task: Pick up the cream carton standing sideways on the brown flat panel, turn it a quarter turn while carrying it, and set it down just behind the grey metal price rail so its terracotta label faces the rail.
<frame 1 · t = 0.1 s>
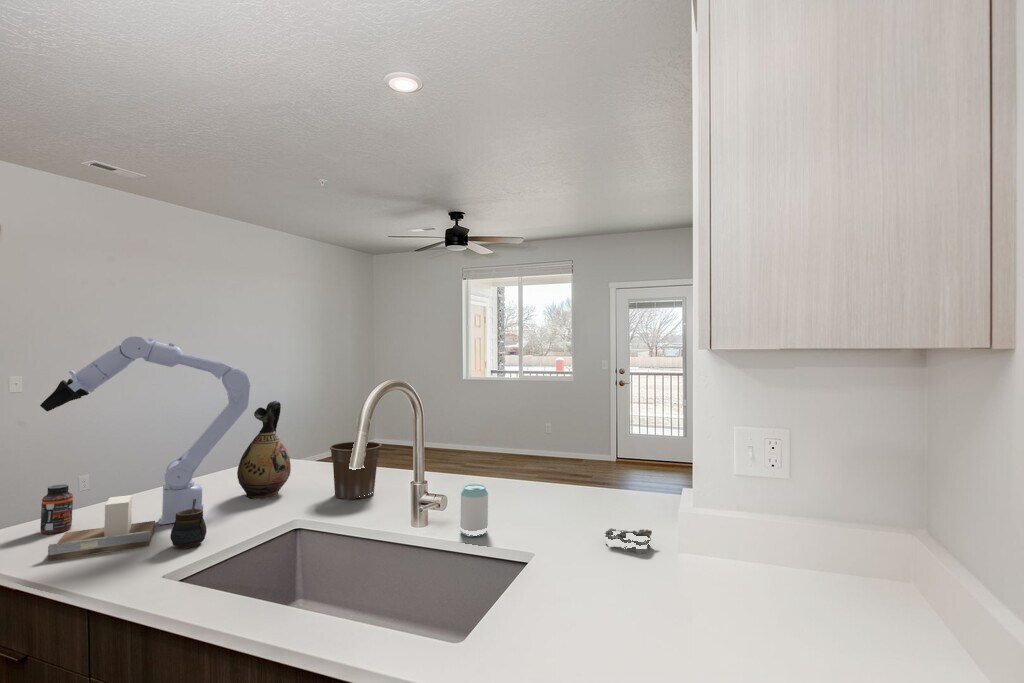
hand: (47, 406, 124), 32 cm above the worktop, tool tilted 50°, fingers open, 7 cm apart
can: (473, 534, 131), on the worktop
supplement bottle: (56, 531, 128), on the worktop
plant pot: (354, 495, 164), on the worktop
price rail: (100, 546, 115), resting on brown flat panel
brown flat panel: (106, 541, 121), on the worktop
egg carton: (627, 548, 123), on the worktop
ceramic jug: (265, 495, 163), on the worktop
mate gourd: (188, 545, 120), on the worktop
carton: (118, 532, 124), point 1 cm above the worktop, touching brown flat panel
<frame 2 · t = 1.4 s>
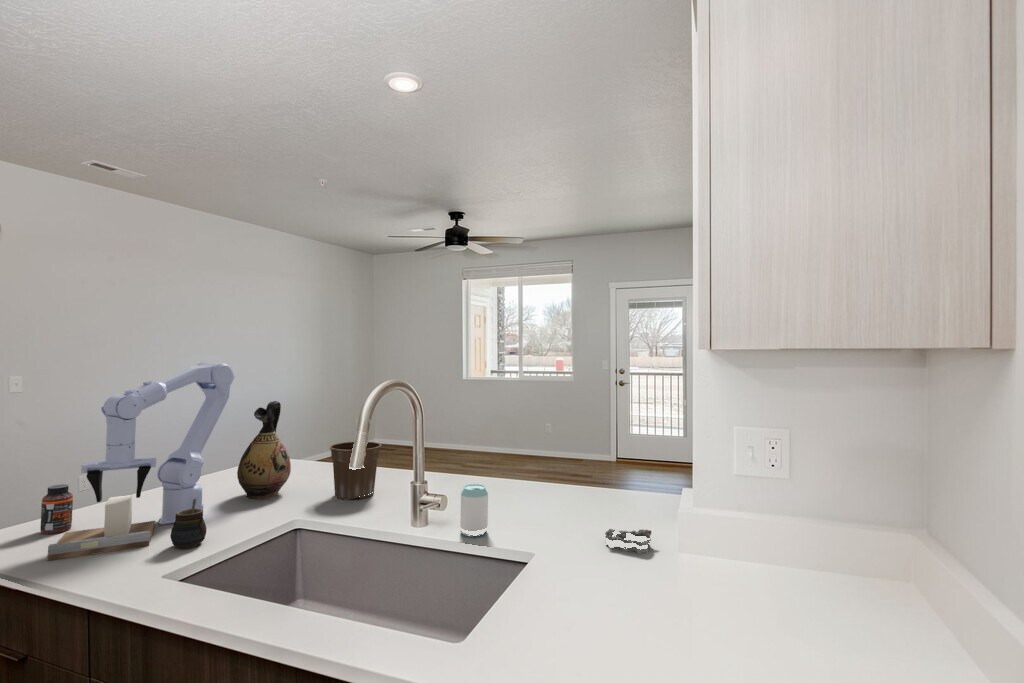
hand: (119, 498, 124), 9 cm above the worktop, tool pointing down, fingers open, 7 cm apart
nothing on the worktop moved.
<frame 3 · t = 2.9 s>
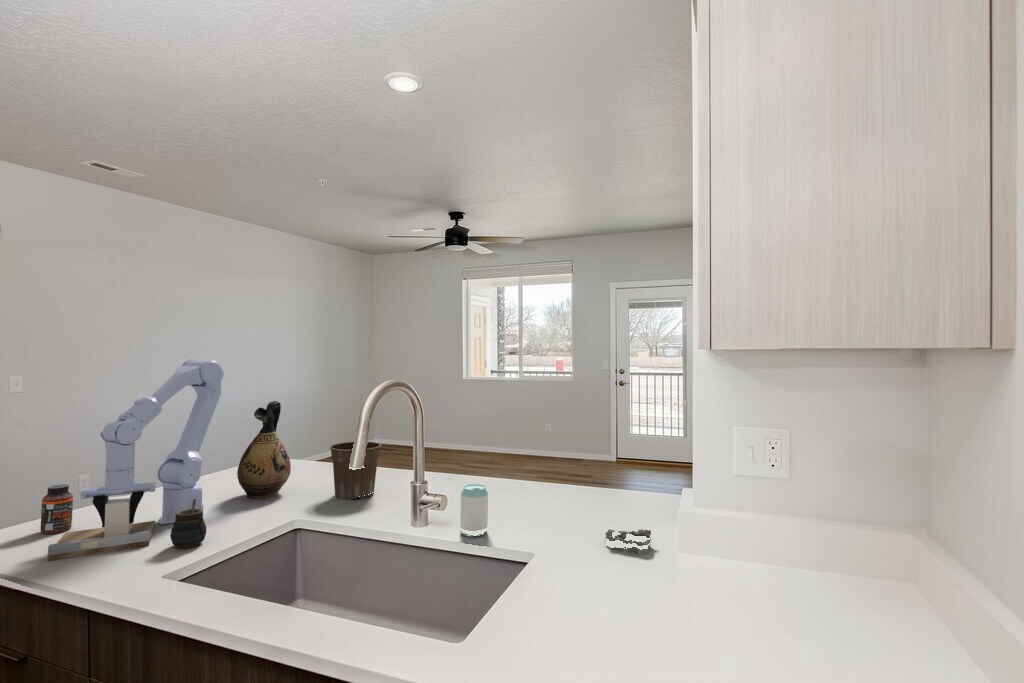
hand: (118, 524, 124), 3 cm above the worktop, tool pointing down, fingers closed on carton, 4 cm apart
carton: (118, 532, 124), point 1 cm above the worktop, touching gripper, brown flat panel
everything else where it was.
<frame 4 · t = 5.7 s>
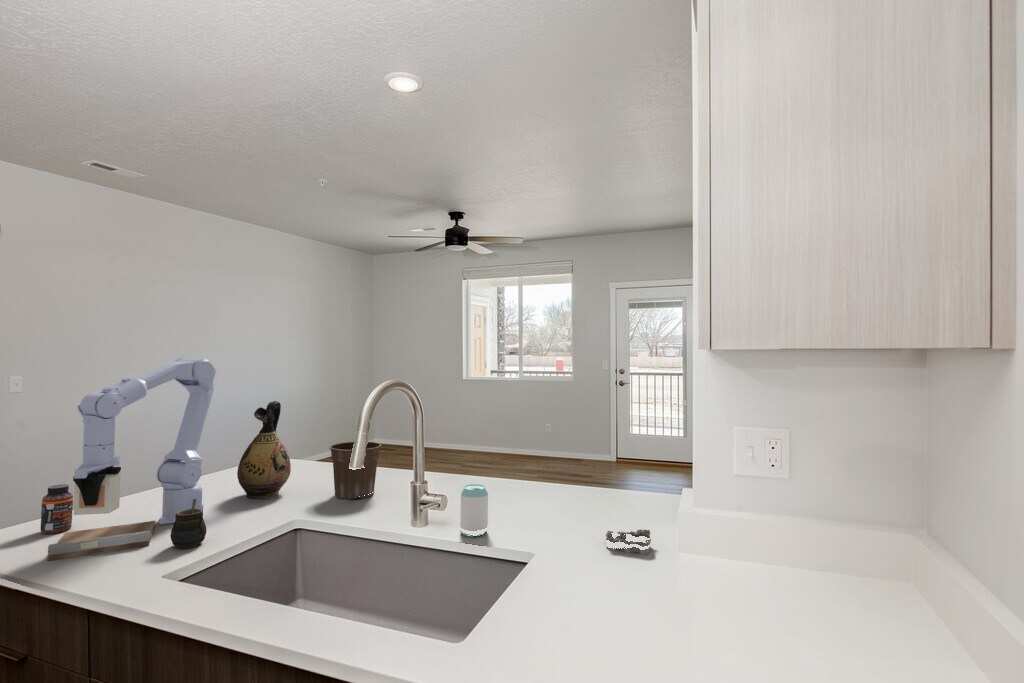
hand: (97, 502, 118), 10 cm above the worktop, tool pointing down, fingers closed on carton, 4 cm apart
carton: (97, 511, 118), point 8 cm above the worktop, touching gripper
everything else where it was.
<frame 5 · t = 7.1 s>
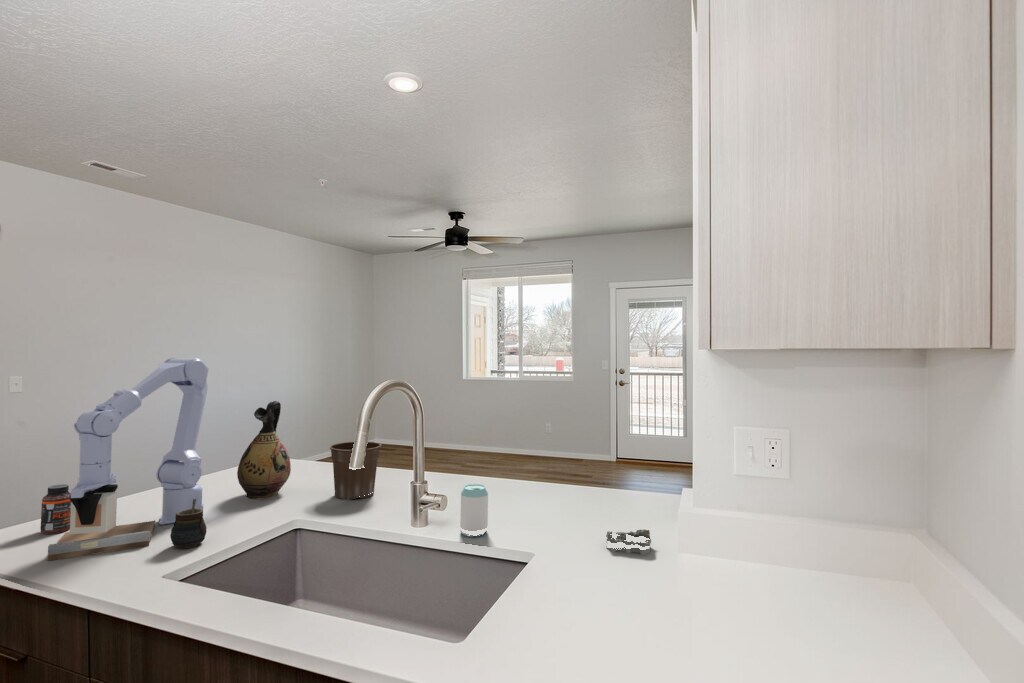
hand: (93, 520, 117), 6 cm above the worktop, tool pointing down, fingers closed on carton, 4 cm apart
carton: (93, 529, 117), point 4 cm above the worktop, touching gripper
when the fingers open (4 cm above the worktop, at t = 8.3 s): carton drops 1 cm, resting on brown flat panel.
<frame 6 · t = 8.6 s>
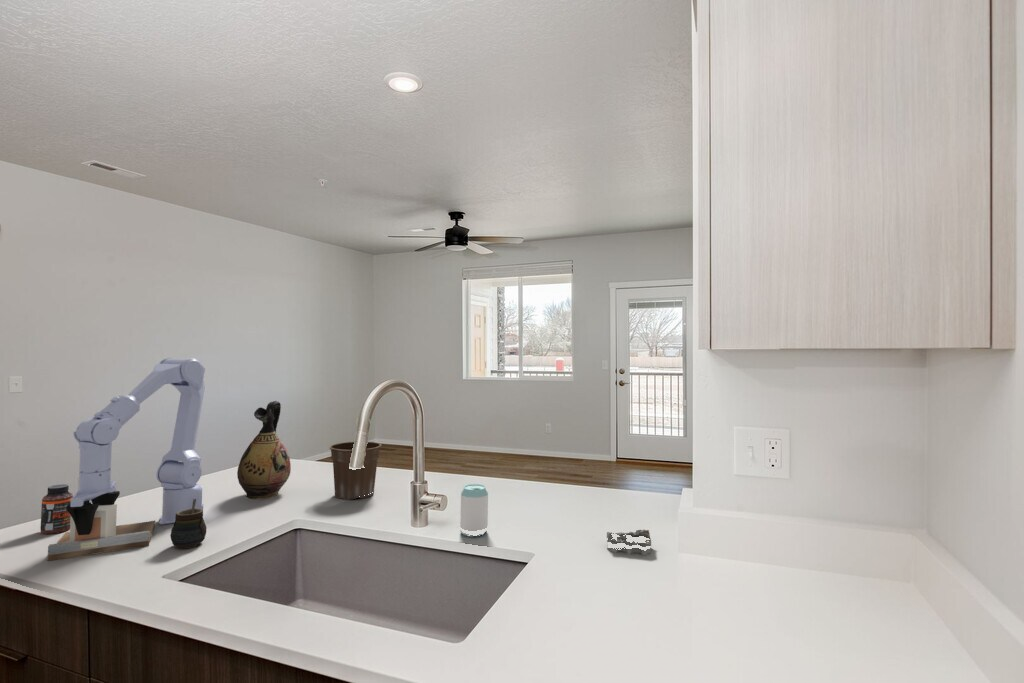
hand: (93, 529, 117), 4 cm above the worktop, tool pointing down, fingers open, 7 cm apart
carton: (93, 542, 117), point 1 cm above the worktop, touching brown flat panel
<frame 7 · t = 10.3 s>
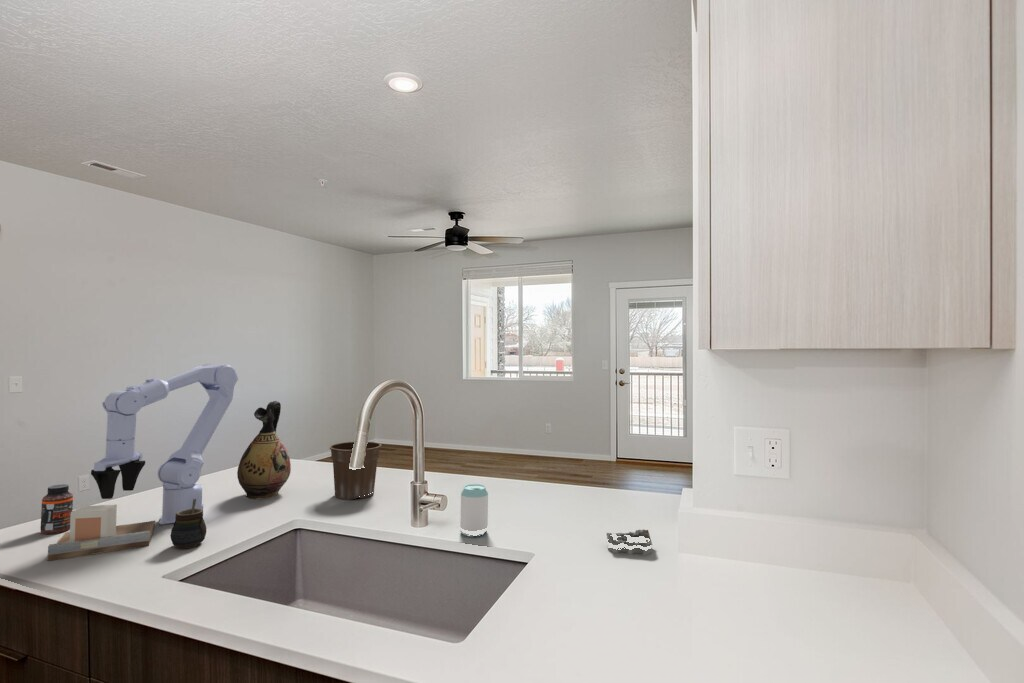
hand: (117, 494, 125), 10 cm above the worktop, tool pointing down, fingers open, 7 cm apart
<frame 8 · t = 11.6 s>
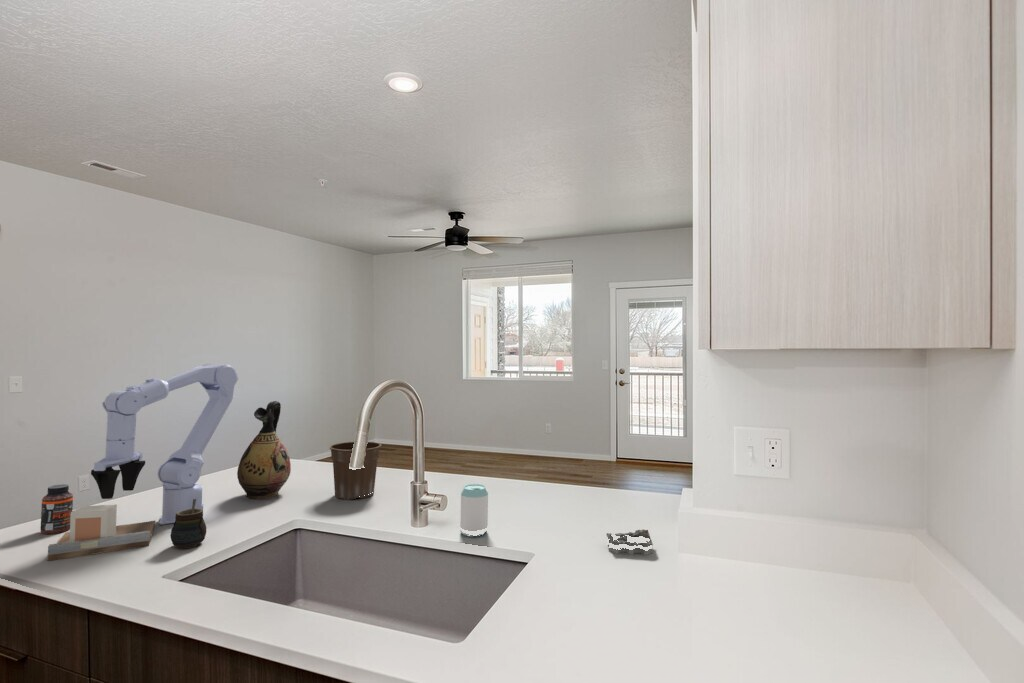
hand: (117, 494, 125), 10 cm above the worktop, tool pointing down, fingers open, 7 cm apart
at the end: carton 0.2 cm from the target spot, point 1.2 cm above the worktop; carton tilted 0°; the gripper is holding nothing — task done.
